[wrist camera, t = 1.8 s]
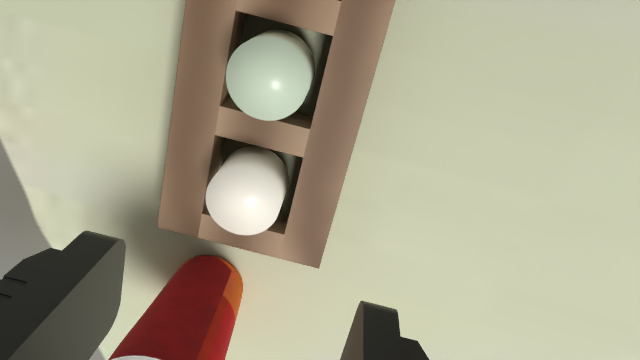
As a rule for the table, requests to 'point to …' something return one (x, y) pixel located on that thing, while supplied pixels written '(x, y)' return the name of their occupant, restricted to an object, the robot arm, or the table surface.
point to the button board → (280, 135)
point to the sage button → (270, 75)
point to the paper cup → (188, 315)
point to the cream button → (248, 191)
